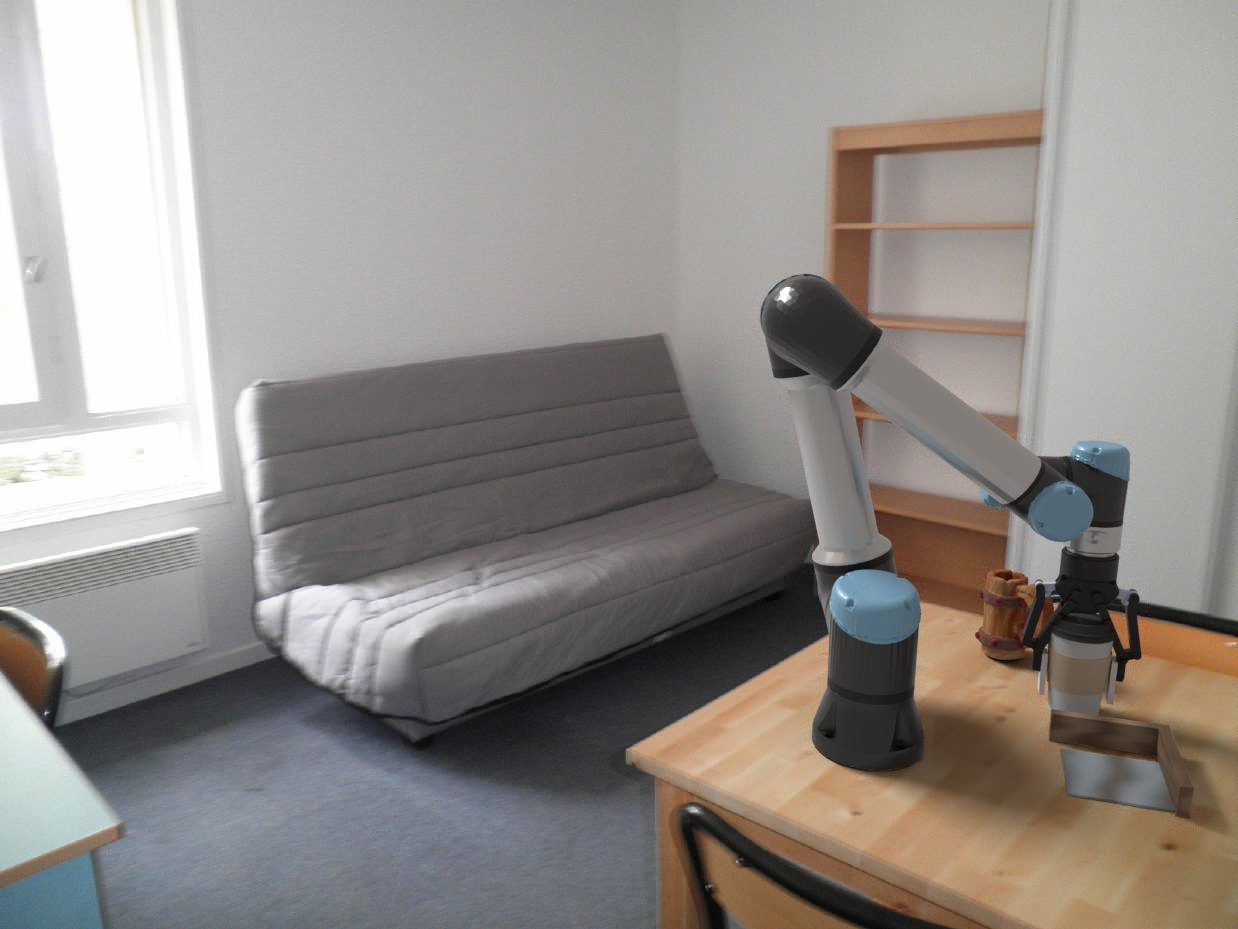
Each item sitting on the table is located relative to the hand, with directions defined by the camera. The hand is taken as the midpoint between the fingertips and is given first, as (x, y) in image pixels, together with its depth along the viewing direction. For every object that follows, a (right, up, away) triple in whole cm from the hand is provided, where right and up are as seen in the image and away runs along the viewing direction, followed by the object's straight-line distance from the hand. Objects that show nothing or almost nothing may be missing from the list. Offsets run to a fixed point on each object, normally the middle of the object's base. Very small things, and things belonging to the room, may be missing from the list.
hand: (1074, 695), depth 147 cm
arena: (-3, -6, -17) cm, 18 cm away
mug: (-2, +1, +18) cm, 18 cm away
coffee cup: (0, -2, +1) cm, 3 cm away
